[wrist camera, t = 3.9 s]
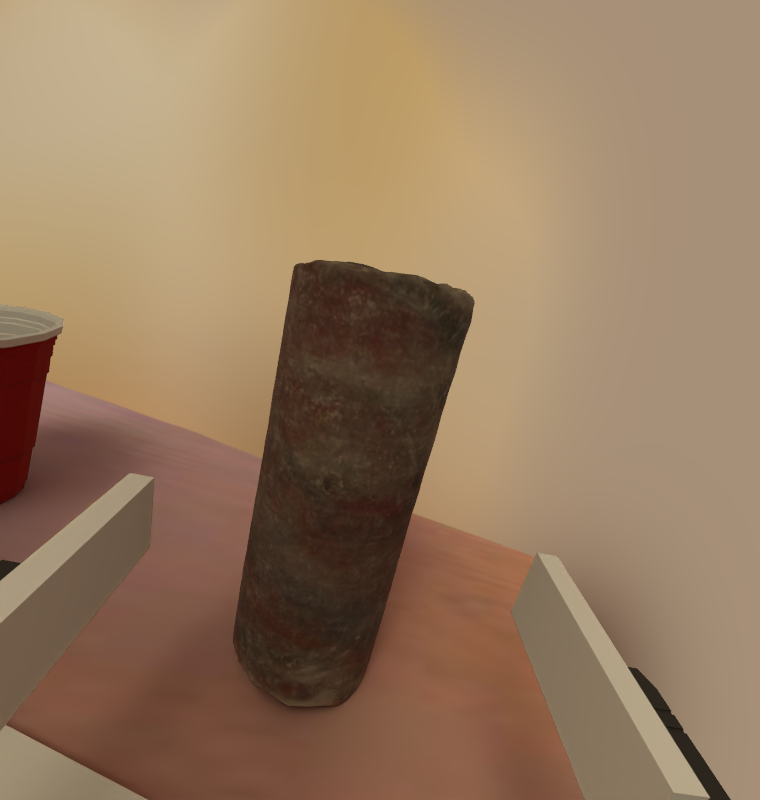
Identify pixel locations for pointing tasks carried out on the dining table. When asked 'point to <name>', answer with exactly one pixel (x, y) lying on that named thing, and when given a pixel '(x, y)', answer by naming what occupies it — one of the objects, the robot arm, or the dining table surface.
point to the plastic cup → (22, 388)
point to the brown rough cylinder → (342, 471)
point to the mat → (49, 774)
